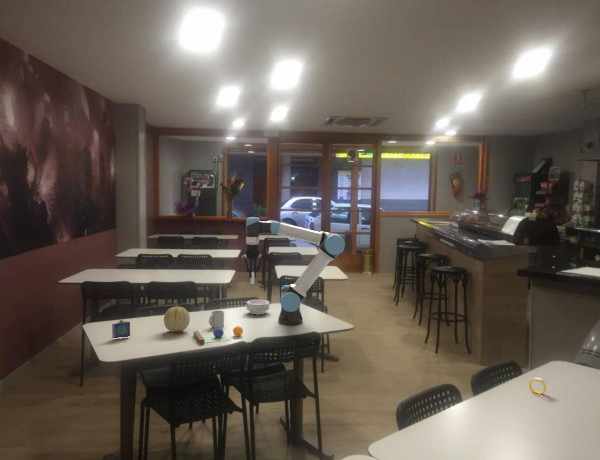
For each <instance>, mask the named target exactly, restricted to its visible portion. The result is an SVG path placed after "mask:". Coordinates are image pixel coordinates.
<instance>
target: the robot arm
mask: <svg viewBox="0 0 600 460" xmlns="http://www.w3.org/2000/svg"><path fill="white" fill-rule="evenodd" d="M245 223H246V225H245V232H246V233H245V234H246V236H245V238H246V239H245V243H246V245H245V254H244V255H242V256H241V258H242V260H243V264H244V269H245V272H247V273H248V277H249V279H250V284H251V285H255V279H256V278H257V273H258V272H259V271H260V269H261V263H262V260H263V258H264V255H262V254H261V253H260V245H259V243H260V235H264V234H265V235H278V236H282V237H287V238H290V239H295V240H299V241H303V242H307V243H310V244H314V245H317V246H318V252H317V254H315V256H314V258H312V260H311V261H310V262H309V264H308V265H307V267H306V268H305V269H304V271H303V272H302V273H301V274H300V276H298V279H297V280H296V281H295V282H294V283H291V284H287V285H281V289H280V291H281V294H280V295H281V297H280V303H279V304H280V307H281V309H280V313H279V316H278V321H277V322H278V323H279V324H281V325H285V326H296V325H300V324H302V323H303V322H304V321H303V315H302V312H301V304H302V303H303V301H304V300H305V299H306V297H307V292H308V291H309V289H310V288H311V287H312V285H313V284H314V282H315V281H316V280H317V279H318V278H319V276H320V275H321V273H323V271H324V270H325V268H326V267H327V266H328V264H329V263H330V262H331V261H335V260H336V258H337V257H338V256H339V254H341V253H342V252H343V251H344V249H345V246H346V243H345V242H346V241H345V240H344V238H343V237H342V236H341V235H340V234H338V233H336V232H327V231H323V230H321V231H320V232H319V231H315V230H311V229H308V228H304V227H300V226H296V225H293V224H287V223H284V222H280V221H278V220H274V219H268V220H266V221H265V220H264V221H262V220H260V218H259V217H247V218H246V222H245ZM247 259H248V261H247Z"/></svg>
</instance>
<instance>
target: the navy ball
mask: <svg viewBox="0 0 600 460" xmlns="http://www.w3.org/2000/svg"><path fill="white" fill-rule="evenodd" d="M223 333H224V330H223V328H214V330H213V333H212V334H214V336H215V337H216V338H220V337H222V336H223ZM224 334H225V333H224Z"/></svg>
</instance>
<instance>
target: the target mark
mask: <svg viewBox="0 0 600 460" xmlns="http://www.w3.org/2000/svg"><path fill="white" fill-rule="evenodd" d="M201 335H202V334H201ZM202 337H203V338H204V340H205V344H206V343H207V344H208V343H217V342H219V343H220V342H228V341H230V339H229V338H228V336H227V335H226V333H223V336H222V337H220V338H216V337H215V336H214V334H213V333H212V334H203V335H202Z"/></svg>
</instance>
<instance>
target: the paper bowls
mask: <svg viewBox="0 0 600 460" xmlns="http://www.w3.org/2000/svg"><path fill="white" fill-rule="evenodd" d="M246 310H247V311H248V312H249V313H250V314H251V315H253V314H256V315H255V316H262V315H265V314H266V313H267V311H269V310H270V301H269V300H265V299H250V300H247V301H246ZM261 314H262V315H261Z"/></svg>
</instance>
